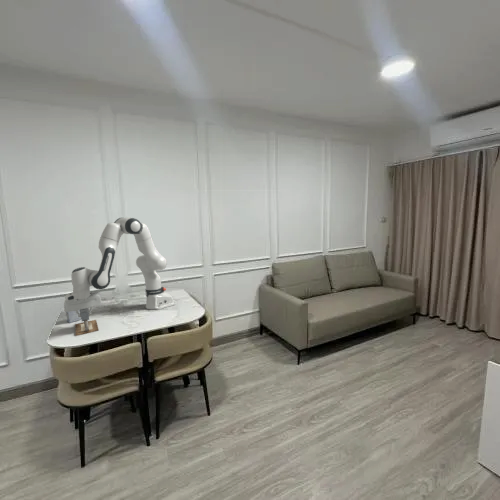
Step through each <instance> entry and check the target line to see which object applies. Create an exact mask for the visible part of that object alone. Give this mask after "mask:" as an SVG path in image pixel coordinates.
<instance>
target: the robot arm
mask: <svg viewBox="0 0 500 500" xmlns="http://www.w3.org/2000/svg"><path fill="white" fill-rule="evenodd" d="M123 234H126V235H133V236H134V239H135V243H136V246H137V249H138V251H139V252H140V253H141V254H142V255H139V256H137V258H136V260H135V265H136V266H137V268H138V269H139V270H140V271H141V273H142V275H143V279H144V284H145V290H144V291H145V297H146V301H145V302H146V303H145V309H147V310H157V311H158V310H162V309H165V308H169V307H172V306H176V305H177V301H176V300H175V299H174V298H173V296H172V294H171V293H169V292H167V291H166V290H167V288H166V287H164V286H162V280H161V279H162V277H161V276H160V275H159V274H158V273H157V271H163V270H165V269H166V268H167V265H168V261H167V259H166V257H164V255H162V254H161V253H160V252H159V250H158V248H156V245H155V243H154V240H153V238H152V234H151V230H150V229H149V227H148V225H147V224H146V223H144V222H140V220H138V219H137V218H135V217H127V216H126V217H119V218H117V219H116V220H115V221H114V222H109V223H107V224H106V225H105V227H104V229H103V231H102V232H101V235H100V238H99V240H98V249H99V250H100V253H101V260H100V265H99V268H98V270H94V269H90V268H87V267H85V266H83V267H82V266H81V267H77V268H75V269H73V270H72V272H71V274H70V275H71V285H72V292H70V293H68V294H66V295H65V296H64V299H65V300H64V302H63V310H64V312H65V313H66V312H71V311H75V312H76V313H77V314H78V317H81V313H78V310H81V309H86V308H88V309H89V310H88V311H89V312H88V314H89V316H91V315H92V312H93V311H92V310H93V308H97V307H101V306H102V305H103V303H102V302H103V301H102V292H100V291H94V292H93V291H92V292H91V289H90V287H93V288H94V289H96V290H104V289H106V288H108V286H109V285H110V283H111V272H112V271H111V270H112V266H113V263H114V260H115V256H116V252H117V248H118V245H119V243H120V239H121V237H122V236H123Z"/></svg>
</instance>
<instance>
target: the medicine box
mask: <svg viewBox="0 0 500 500" xmlns="http://www.w3.org/2000/svg"><path fill="white" fill-rule="evenodd" d="M78 313H80V310H78ZM65 314H66V321H67V323H69V324H72V323H74V322H77V321H82V320H81V317H78V314H77V313H76V312H75V311H71V312H65Z"/></svg>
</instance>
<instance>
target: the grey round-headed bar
mask: <svg viewBox="0 0 500 500" xmlns="http://www.w3.org/2000/svg"><path fill="white" fill-rule="evenodd" d="M89 311H90V310H89V308H86V309H81V310H80V313H81V320H80V321H81V322H84V321H86V320H87V321H90V315H89V314H88V312H89Z"/></svg>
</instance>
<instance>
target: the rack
mask: <svg viewBox="0 0 500 500" xmlns="http://www.w3.org/2000/svg"><path fill="white" fill-rule="evenodd" d="M74 325H75V326H74V327H75V328H74V329H75V336H76V337H77V336H82V335H85V334H89V333H90V334H91V333H94V332H98V331H99V326H98V322H97V319H92V320H86V321H82V322H79V323H75V324H74Z"/></svg>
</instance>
